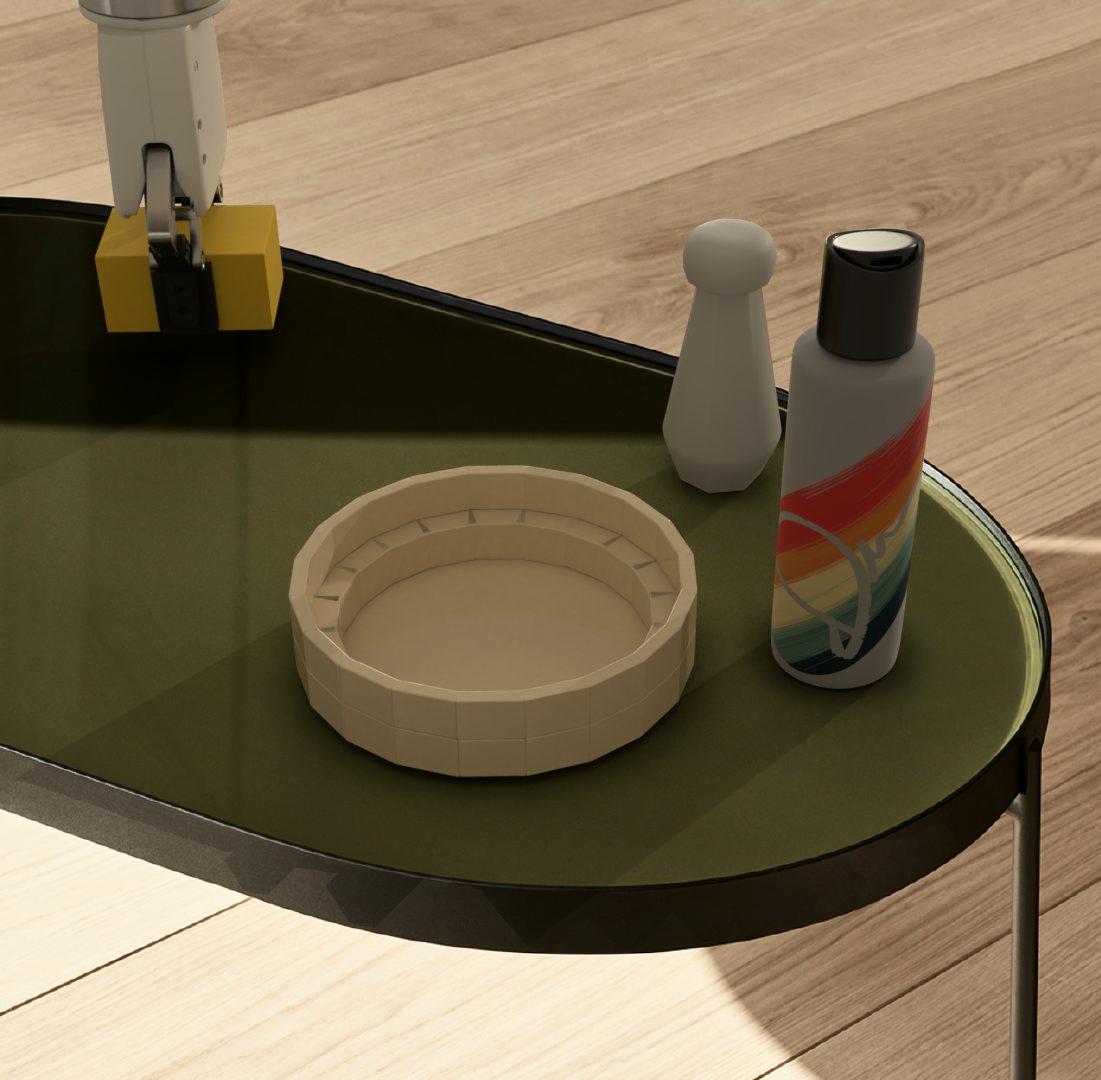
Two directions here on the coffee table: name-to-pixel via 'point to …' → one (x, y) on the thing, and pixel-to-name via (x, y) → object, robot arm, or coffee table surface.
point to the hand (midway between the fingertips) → (198, 299)
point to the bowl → (494, 620)
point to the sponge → (229, 244)
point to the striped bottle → (853, 463)
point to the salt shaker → (725, 361)
